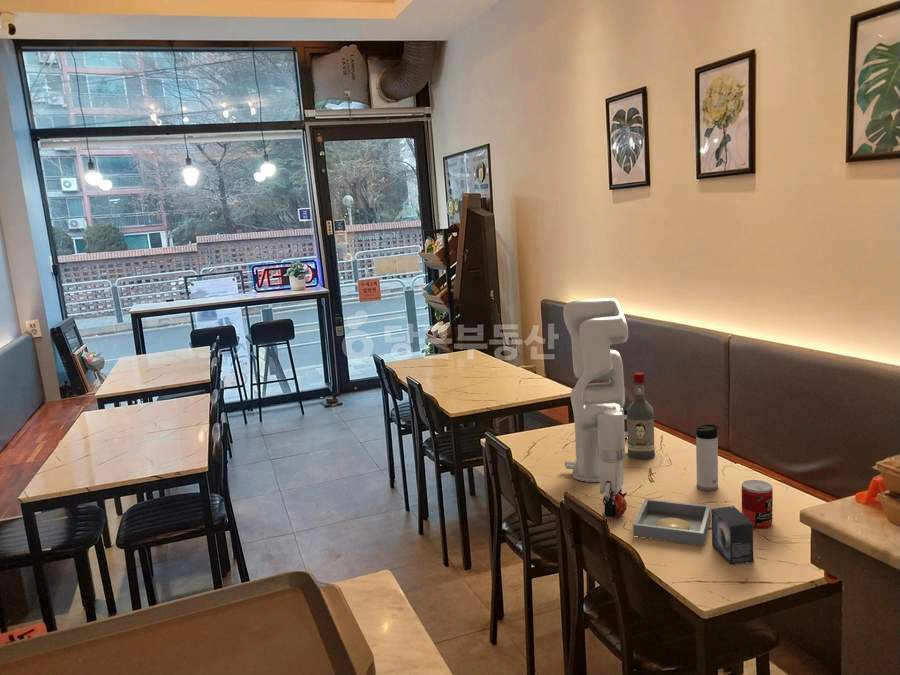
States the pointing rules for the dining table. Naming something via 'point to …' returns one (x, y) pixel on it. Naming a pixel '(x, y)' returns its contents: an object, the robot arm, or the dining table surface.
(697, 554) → the dining table surface
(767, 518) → the canned food
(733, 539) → the small box
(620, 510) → the pomegranate
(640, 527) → the walled pen
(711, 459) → the travel mug
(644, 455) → the liquor
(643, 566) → the dining table surface
